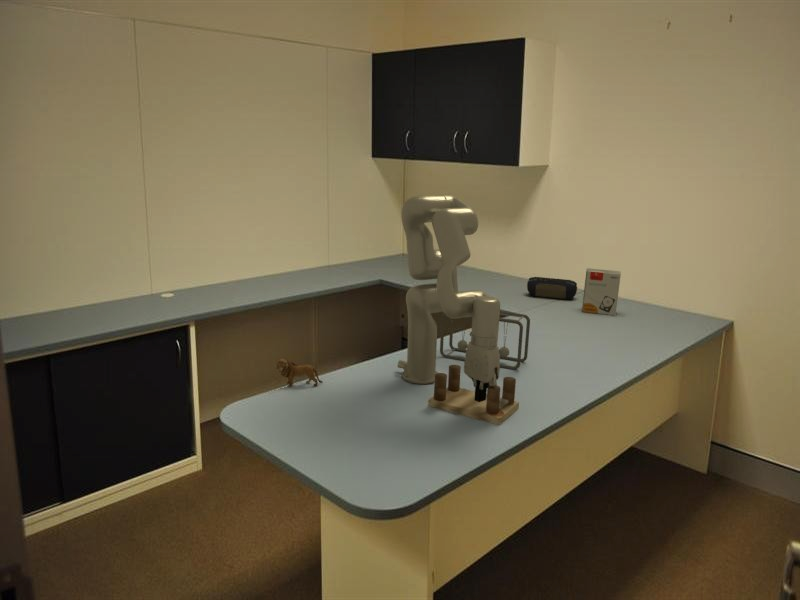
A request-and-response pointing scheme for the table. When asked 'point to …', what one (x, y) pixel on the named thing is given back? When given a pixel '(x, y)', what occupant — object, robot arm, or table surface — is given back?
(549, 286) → the portable speaker
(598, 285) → the hard drive box
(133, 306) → the table surface
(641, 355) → the table surface
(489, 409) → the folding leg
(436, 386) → the stool seat
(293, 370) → the lion figurine
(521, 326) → the newton's cradle
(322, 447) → the table surface
